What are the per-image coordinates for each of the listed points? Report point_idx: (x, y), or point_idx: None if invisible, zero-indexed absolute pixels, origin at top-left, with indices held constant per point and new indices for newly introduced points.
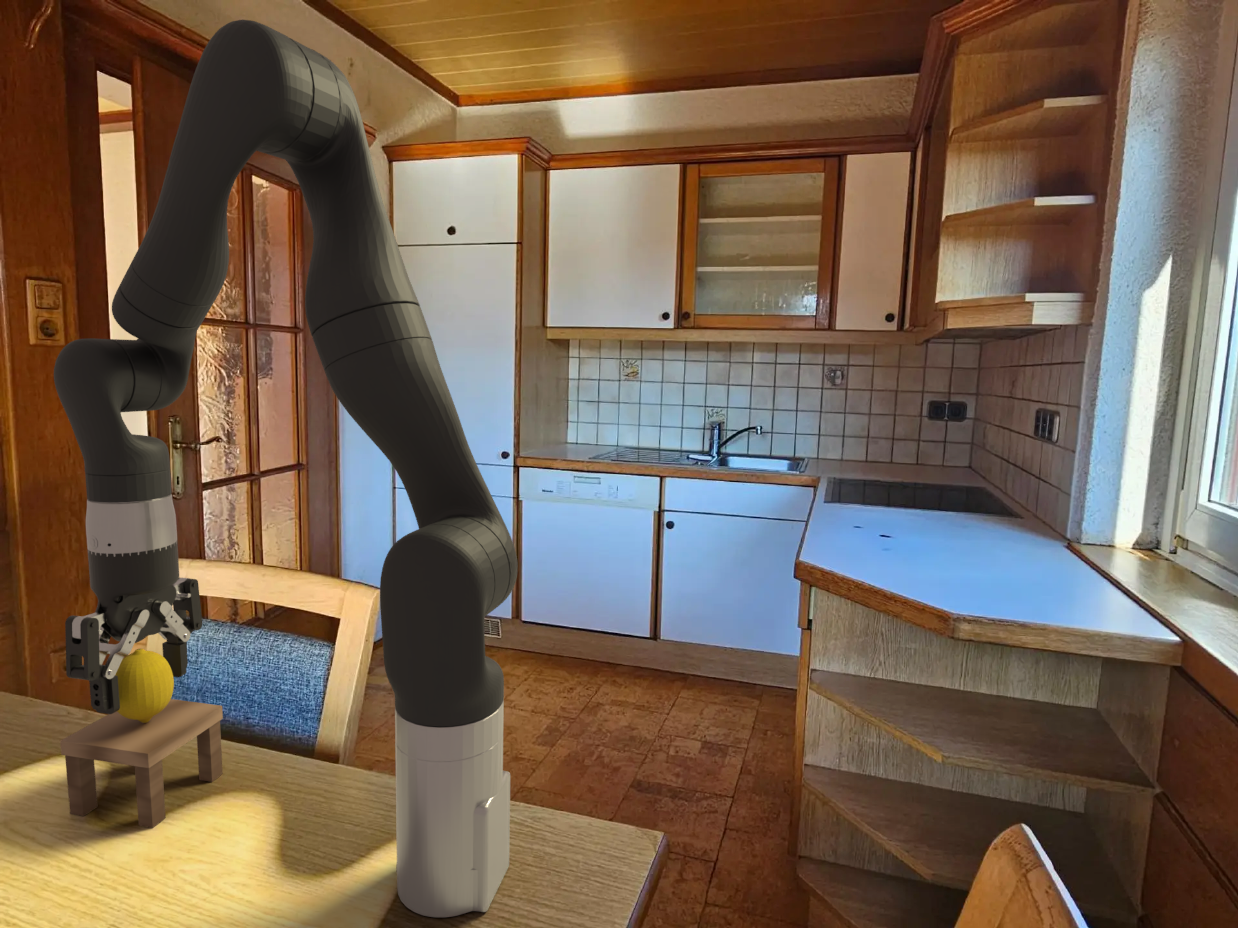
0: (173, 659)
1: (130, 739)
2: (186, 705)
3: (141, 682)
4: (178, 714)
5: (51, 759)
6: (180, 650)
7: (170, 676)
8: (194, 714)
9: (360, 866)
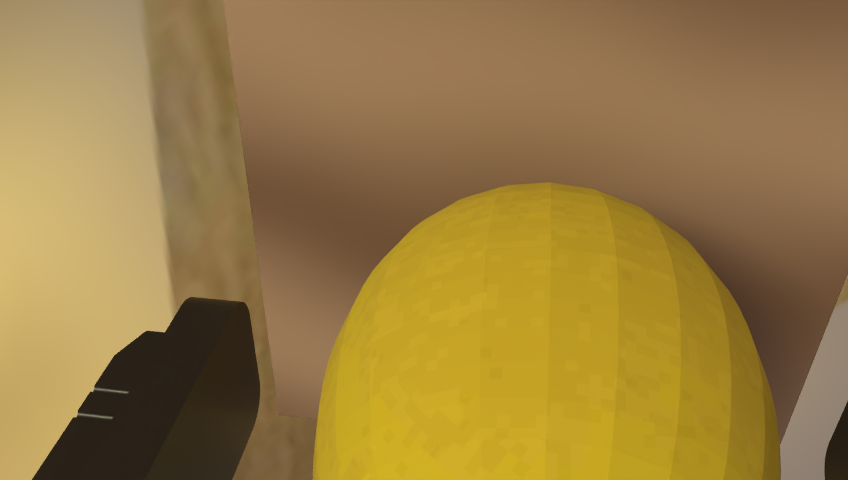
0: (202, 450)
1: (755, 188)
2: (296, 153)
3: (743, 427)
4: (407, 125)
5: None
6: (145, 475)
7: (454, 307)
8: (380, 24)
9: None
